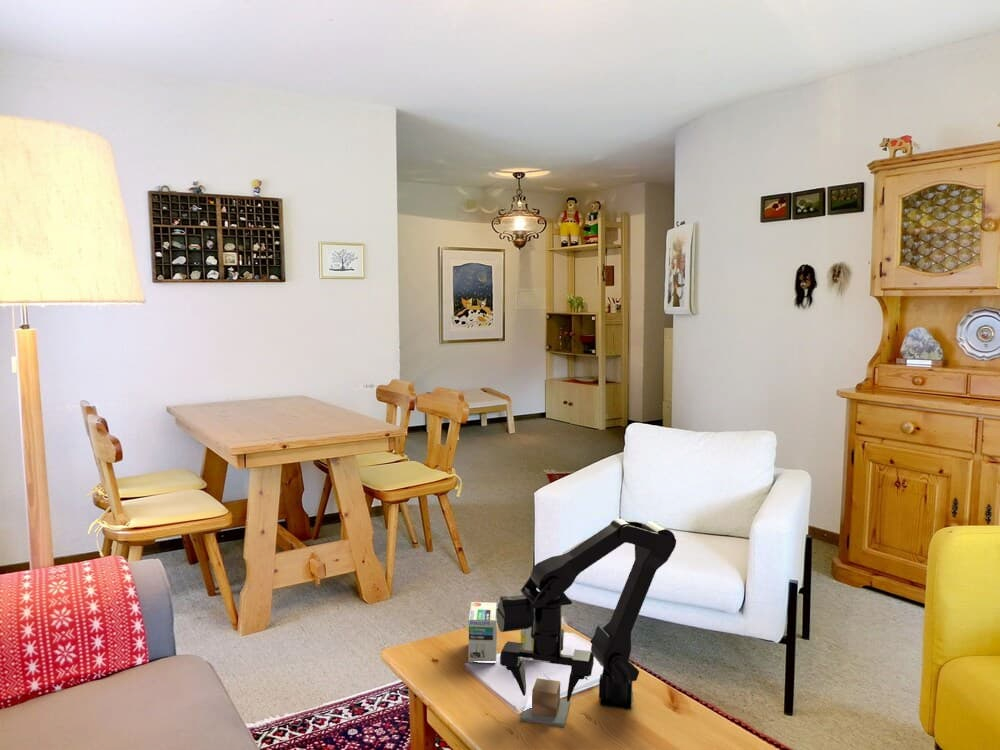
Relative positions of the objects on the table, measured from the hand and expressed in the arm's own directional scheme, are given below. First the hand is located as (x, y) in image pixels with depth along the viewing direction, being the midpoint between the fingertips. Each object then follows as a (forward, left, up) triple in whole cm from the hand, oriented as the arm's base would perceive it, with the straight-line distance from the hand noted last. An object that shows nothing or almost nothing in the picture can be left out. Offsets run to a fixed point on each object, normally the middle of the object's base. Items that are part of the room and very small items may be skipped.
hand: (546, 697), depth 148 cm
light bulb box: (+19, -21, -3) cm, 29 cm away
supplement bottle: (+7, -24, -3) cm, 25 cm away
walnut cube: (0, 0, -2) cm, 2 cm away
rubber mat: (0, 0, -3) cm, 3 cm away
